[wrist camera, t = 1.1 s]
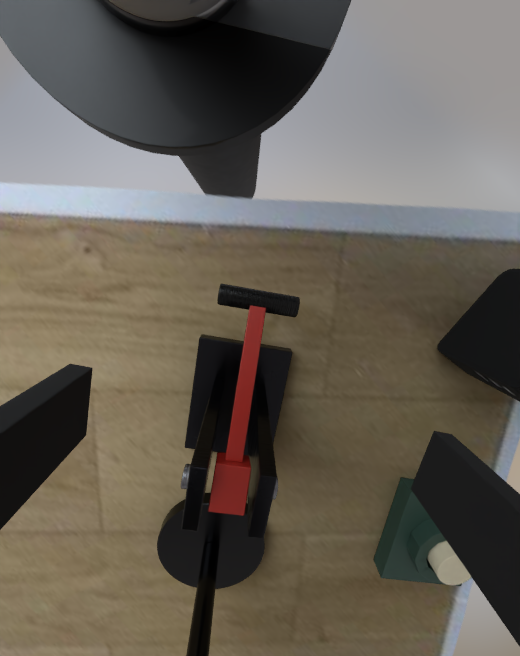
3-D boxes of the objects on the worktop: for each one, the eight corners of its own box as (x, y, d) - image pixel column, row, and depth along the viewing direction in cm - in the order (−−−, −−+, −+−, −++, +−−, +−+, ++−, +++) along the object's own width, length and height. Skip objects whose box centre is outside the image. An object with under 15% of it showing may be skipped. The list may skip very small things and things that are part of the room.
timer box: (400, 477, 34) (420, 505, 30) (481, 487, 34) (511, 516, 31) (373, 559, 36) (388, 595, 32) (449, 567, 37) (472, 603, 33)
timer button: (433, 537, 31) (444, 553, 30) (468, 541, 32) (481, 557, 30) (422, 566, 32) (432, 583, 31) (456, 570, 33) (468, 587, 31)
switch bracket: (201, 334, 29) (160, 400, 16) (290, 348, 30) (326, 423, 16) (186, 440, 32) (141, 576, 18) (269, 451, 32) (283, 590, 19)
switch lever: (221, 288, 22) (220, 278, 19) (295, 300, 22) (302, 293, 20) (186, 491, 20) (179, 508, 17) (266, 500, 20) (271, 519, 18)
